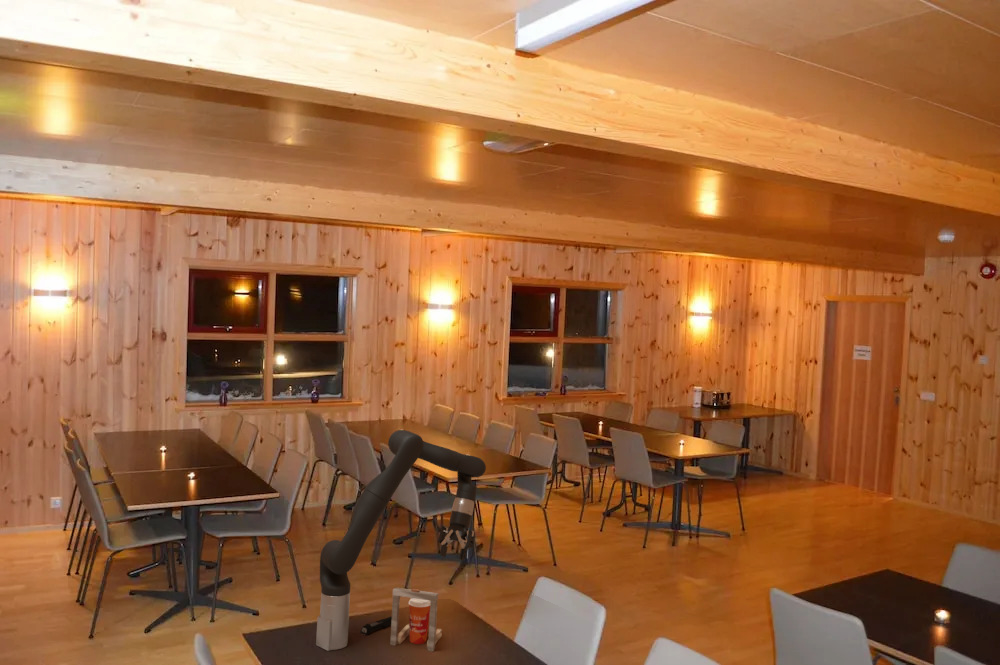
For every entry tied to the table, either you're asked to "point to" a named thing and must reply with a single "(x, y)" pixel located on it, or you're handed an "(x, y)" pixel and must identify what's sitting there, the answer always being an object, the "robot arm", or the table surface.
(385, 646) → the table surface
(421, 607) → the paper cup
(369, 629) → the electric trimmer
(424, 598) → the guide arch
